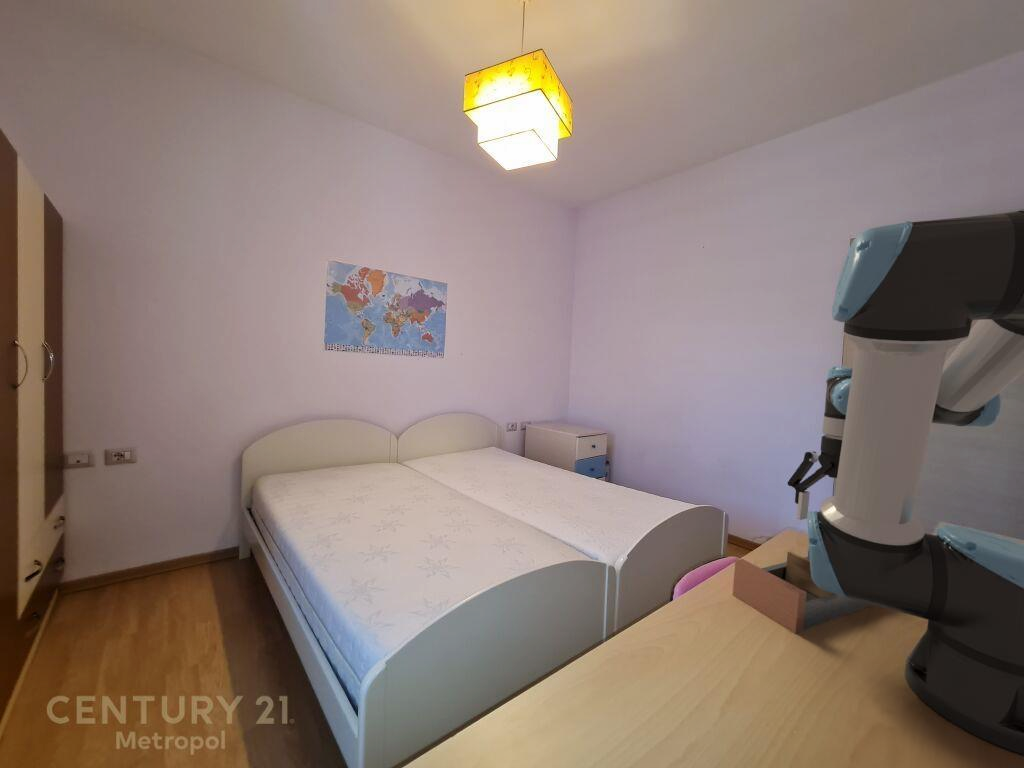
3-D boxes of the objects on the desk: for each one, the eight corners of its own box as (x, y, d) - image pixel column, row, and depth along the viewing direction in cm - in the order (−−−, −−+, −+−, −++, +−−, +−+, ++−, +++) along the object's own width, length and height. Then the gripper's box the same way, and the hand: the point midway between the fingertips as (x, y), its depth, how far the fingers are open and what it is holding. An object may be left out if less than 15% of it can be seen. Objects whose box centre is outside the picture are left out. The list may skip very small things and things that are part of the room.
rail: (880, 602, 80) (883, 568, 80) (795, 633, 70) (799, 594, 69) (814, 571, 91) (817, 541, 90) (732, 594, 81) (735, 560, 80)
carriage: (870, 592, 81) (873, 563, 81) (833, 604, 76) (836, 573, 76) (820, 569, 89) (823, 543, 89) (785, 579, 85) (787, 551, 84)
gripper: (927, 449, 80) (914, 553, 82) (795, 425, 102) (788, 507, 104) (907, 452, 77) (894, 560, 79) (775, 427, 99) (768, 511, 101)
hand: (833, 530), depth 91 cm, fingers open, 13 cm apart
